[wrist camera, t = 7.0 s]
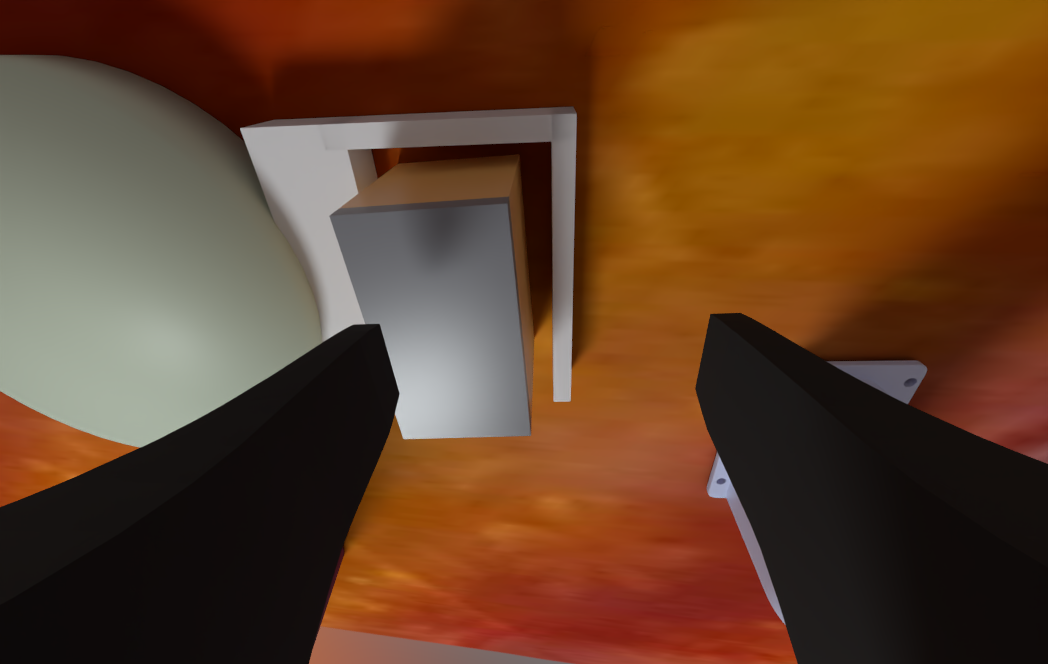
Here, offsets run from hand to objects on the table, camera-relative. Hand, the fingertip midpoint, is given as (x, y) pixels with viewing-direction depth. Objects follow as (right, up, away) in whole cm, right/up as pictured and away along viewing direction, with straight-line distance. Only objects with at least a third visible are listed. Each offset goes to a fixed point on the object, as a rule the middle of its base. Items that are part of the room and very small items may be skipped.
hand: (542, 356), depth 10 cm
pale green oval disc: (-11, +3, +9) cm, 15 cm away
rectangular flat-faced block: (-2, +4, +8) cm, 9 cm away
